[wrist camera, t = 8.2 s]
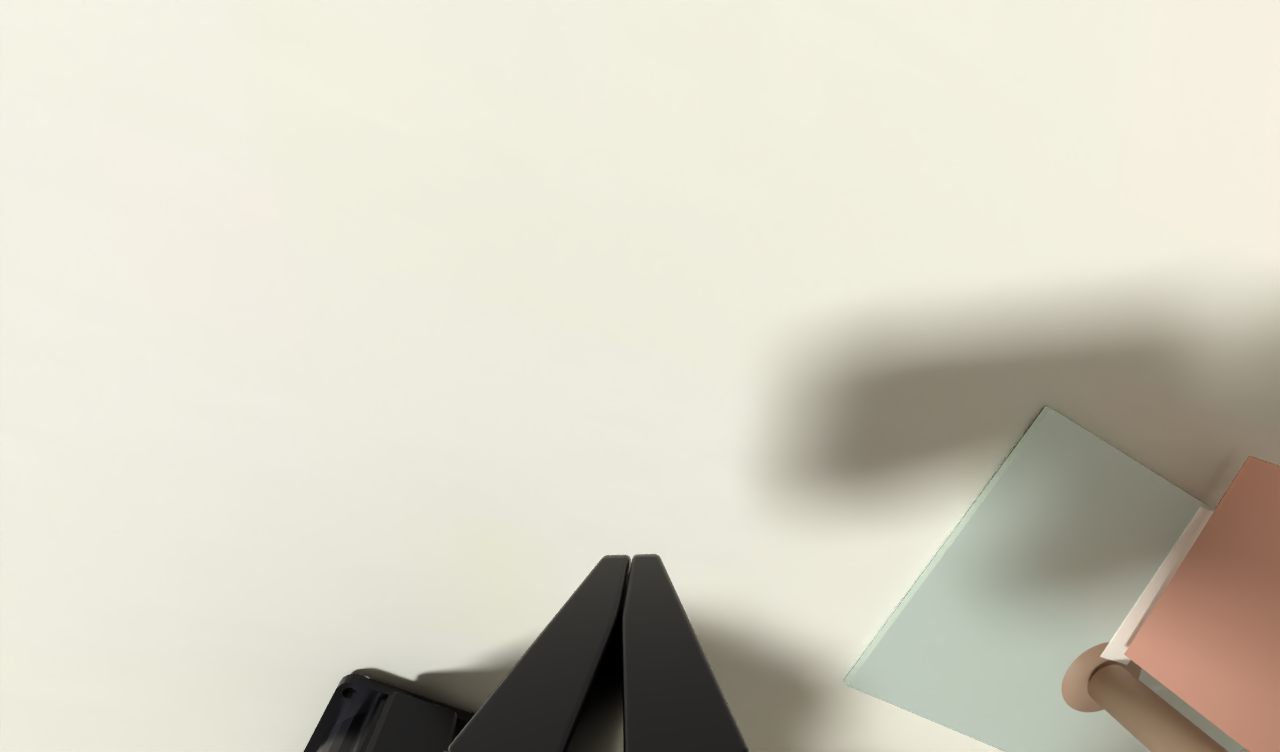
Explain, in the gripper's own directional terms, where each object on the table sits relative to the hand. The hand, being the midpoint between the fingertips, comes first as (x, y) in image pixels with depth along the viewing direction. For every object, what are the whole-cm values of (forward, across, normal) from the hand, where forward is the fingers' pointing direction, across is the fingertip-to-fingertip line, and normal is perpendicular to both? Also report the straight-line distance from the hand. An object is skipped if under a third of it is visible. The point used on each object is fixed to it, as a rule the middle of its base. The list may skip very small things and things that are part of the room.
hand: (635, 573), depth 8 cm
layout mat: (+11, +20, -18) cm, 29 cm away
